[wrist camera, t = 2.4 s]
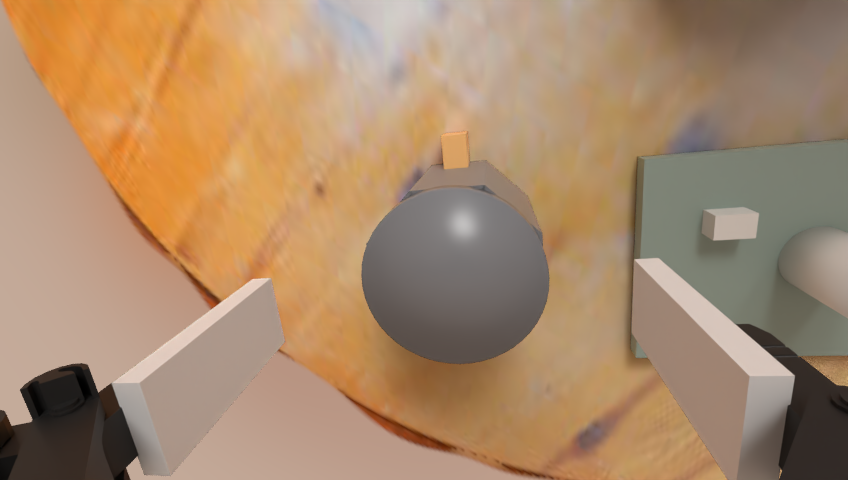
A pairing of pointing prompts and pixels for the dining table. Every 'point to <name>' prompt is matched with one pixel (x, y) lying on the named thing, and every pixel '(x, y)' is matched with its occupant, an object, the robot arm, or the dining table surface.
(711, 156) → the post base
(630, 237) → the dining table surface
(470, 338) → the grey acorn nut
